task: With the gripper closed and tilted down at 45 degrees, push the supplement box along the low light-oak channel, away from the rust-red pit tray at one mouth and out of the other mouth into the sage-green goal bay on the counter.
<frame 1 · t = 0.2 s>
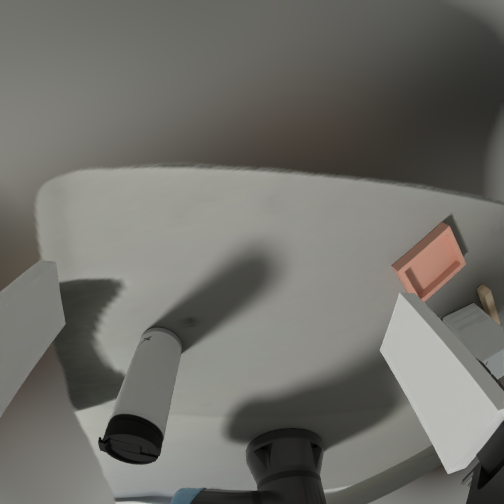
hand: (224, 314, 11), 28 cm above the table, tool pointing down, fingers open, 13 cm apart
supplement box: (457, 325, 47), on the table
channel: (457, 325, 47), on the table
pit tray: (427, 262, 42), on the table
travel mug: (160, 343, 45), on the table
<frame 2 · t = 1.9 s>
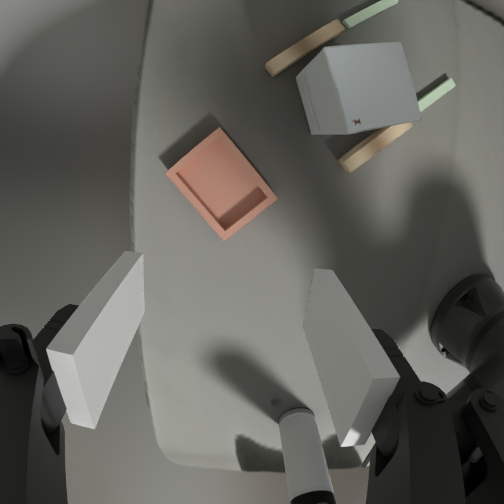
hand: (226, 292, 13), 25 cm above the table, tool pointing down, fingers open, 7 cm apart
supplement box: (332, 99, 33), on the table
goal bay: (402, 53, 31), on the table
channel: (332, 99, 33), on the table
pit tray: (222, 182, 36), on the table
travel mug: (296, 418, 50), on the table
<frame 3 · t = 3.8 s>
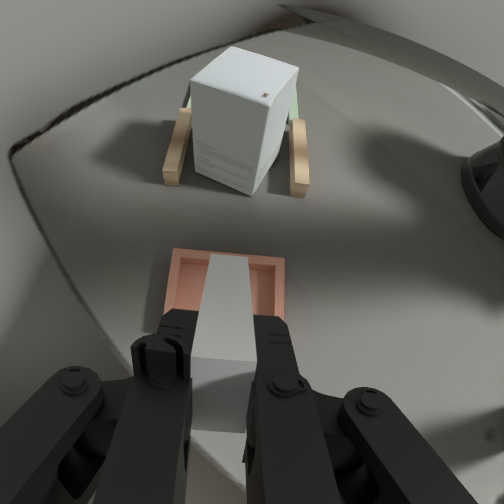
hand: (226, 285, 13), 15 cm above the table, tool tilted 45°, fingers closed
supplement box: (237, 163, 36), on the table
channel: (237, 162, 36), on the table
pit tray: (224, 300, 29), on the table
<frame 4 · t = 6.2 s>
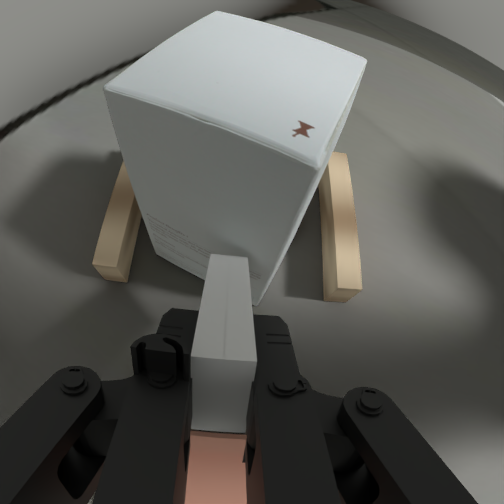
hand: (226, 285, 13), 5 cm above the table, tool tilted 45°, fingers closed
supplement box: (230, 235, 21), on the table, touching gripper
channel: (230, 233, 21), on the table
pit tray: (211, 493, 14), on the table
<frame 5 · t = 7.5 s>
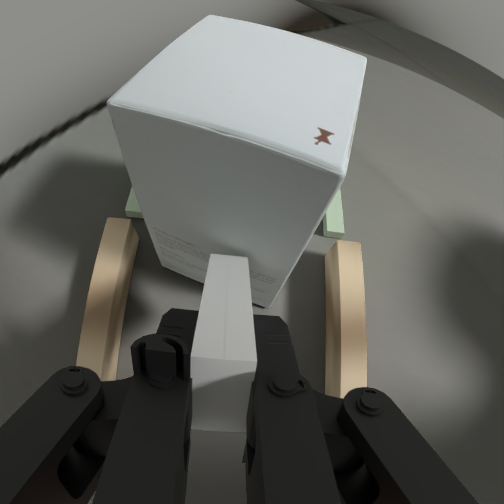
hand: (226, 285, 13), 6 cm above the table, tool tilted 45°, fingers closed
supplement box: (234, 239, 21), on the table, touching gripper
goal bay: (239, 172, 23), on the table
channel: (223, 343, 18), on the table
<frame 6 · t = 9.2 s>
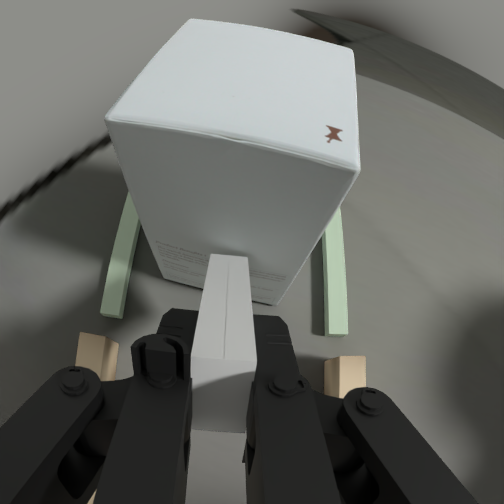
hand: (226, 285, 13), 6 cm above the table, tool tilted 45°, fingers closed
supplement box: (231, 241, 21), on the table, touching gripper
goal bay: (229, 258, 20), on the table
channel: (215, 458, 15), on the table
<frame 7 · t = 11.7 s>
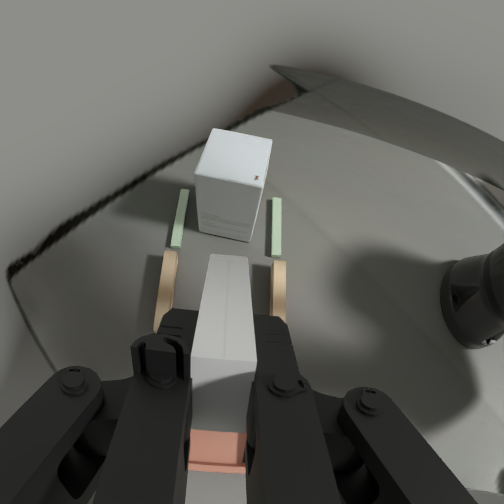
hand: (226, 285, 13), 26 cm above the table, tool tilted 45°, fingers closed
supplement box: (229, 215, 45), on the table
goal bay: (228, 223, 44), on the table
channel: (220, 308, 39), on the table
pit tray: (212, 438, 32), on the table
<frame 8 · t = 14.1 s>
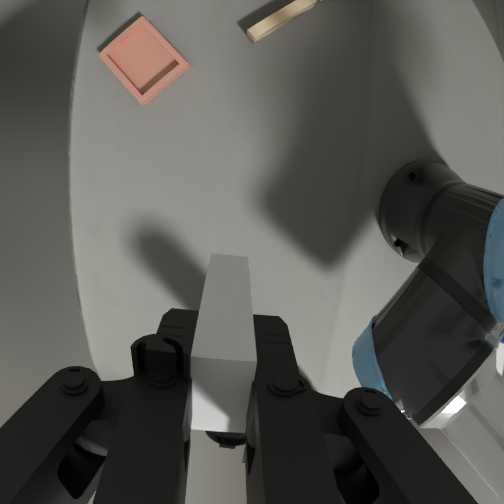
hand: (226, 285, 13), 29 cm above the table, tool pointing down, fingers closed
pit tray: (145, 61, 35), on the table
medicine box: (492, 318, 52), on the table
travel mug: (233, 329, 49), on the table
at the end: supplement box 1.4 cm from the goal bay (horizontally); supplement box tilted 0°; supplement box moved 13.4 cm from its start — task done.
